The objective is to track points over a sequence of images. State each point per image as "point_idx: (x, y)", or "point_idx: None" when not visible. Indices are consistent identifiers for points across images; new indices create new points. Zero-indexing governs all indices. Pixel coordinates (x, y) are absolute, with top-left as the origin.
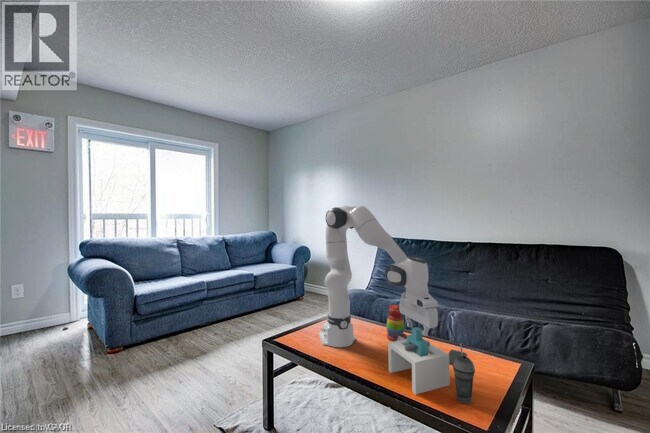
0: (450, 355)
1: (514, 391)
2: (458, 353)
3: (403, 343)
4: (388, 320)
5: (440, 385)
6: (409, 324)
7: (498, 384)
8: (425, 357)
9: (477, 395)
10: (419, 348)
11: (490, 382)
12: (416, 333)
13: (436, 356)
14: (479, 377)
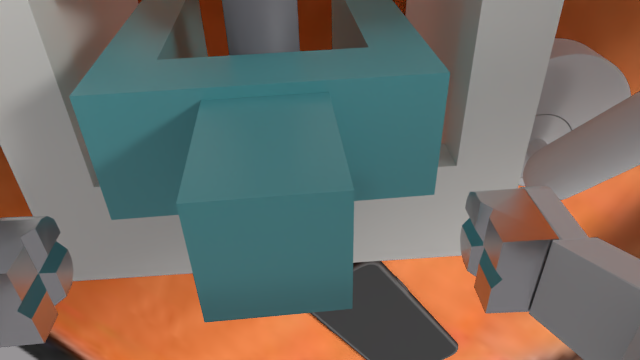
0: (410, 317)
1: (43, 352)
2: (408, 354)
3: (477, 7)
4: None
5: None
6: (492, 235)
7: (106, 336)
8: (3, 31)
9: (16, 206)
10: (126, 57)
11: (128, 320)
12: (188, 168)
13: (26, 162)
14: (180, 308)
